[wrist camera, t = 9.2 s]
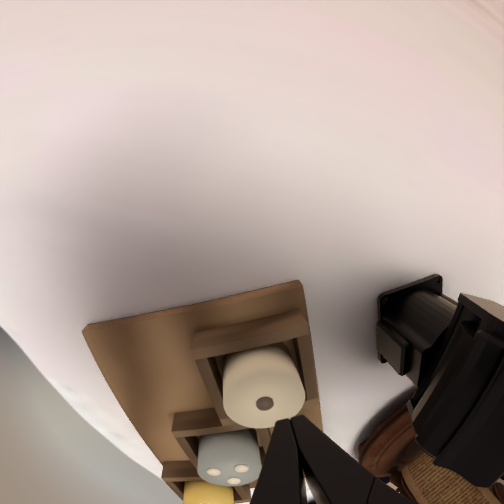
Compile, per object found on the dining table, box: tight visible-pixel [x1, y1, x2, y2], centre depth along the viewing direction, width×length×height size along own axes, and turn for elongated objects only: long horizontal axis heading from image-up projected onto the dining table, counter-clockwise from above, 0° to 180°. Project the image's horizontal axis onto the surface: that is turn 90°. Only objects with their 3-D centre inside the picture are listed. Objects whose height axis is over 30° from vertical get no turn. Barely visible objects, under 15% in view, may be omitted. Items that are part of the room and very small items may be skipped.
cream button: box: [223, 342, 305, 428], centre depth 17 cm, size 5×5×4 cm
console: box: [82, 280, 323, 504], centre depth 20 cm, size 16×23×3 cm
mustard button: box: [183, 480, 234, 504], centre depth 19 cm, size 5×5×4 cm
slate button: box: [197, 428, 262, 486], centre depth 18 cm, size 5×5×4 cm
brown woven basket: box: [358, 403, 504, 504], centre depth 15 cm, size 15×15×20 cm
